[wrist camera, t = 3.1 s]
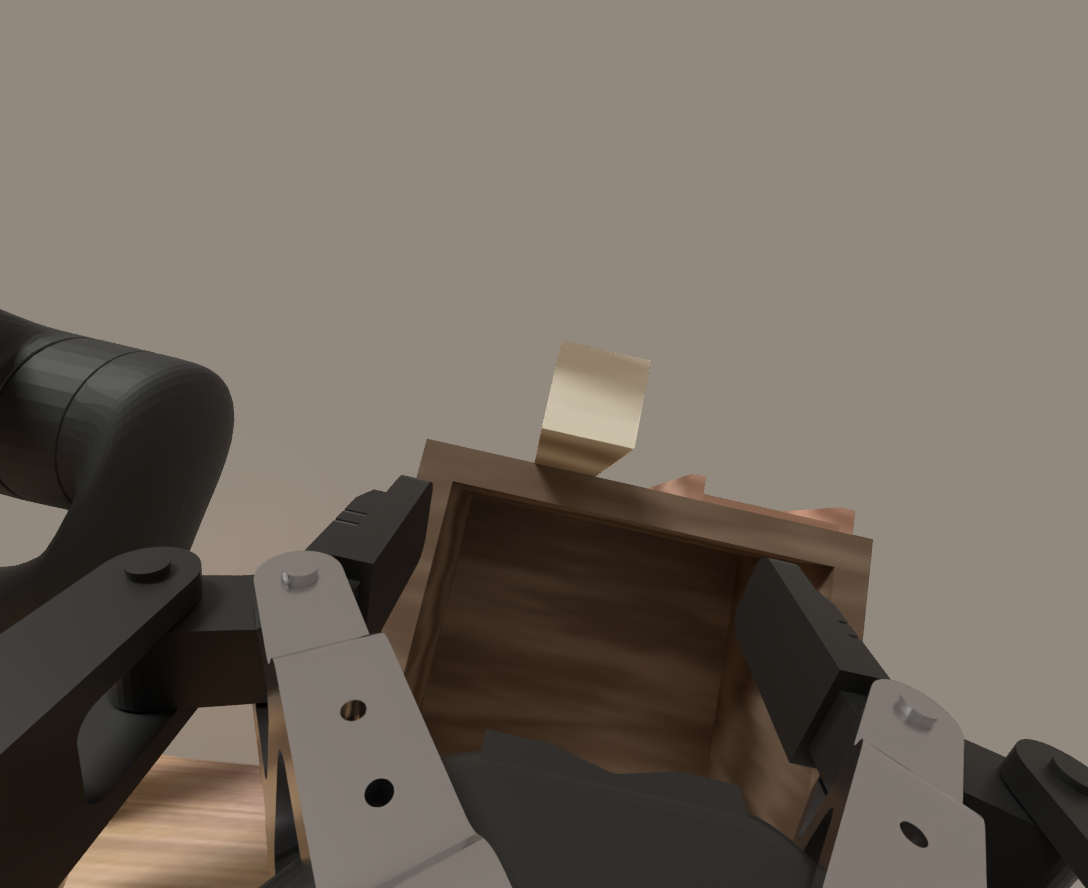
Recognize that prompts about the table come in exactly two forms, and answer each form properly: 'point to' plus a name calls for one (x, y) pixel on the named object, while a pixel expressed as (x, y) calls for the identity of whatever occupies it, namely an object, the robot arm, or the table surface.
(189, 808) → the table surface
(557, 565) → the brown wooden box
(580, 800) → the robot arm
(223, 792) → the table surface
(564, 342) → the cream long bar
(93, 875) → the table surface
